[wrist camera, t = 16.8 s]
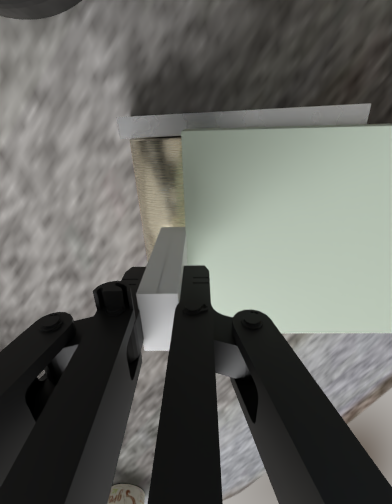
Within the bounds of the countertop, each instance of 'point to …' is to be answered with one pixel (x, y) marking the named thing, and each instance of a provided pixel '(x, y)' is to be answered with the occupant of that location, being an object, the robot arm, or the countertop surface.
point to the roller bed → (170, 151)
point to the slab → (294, 223)
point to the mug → (126, 494)
